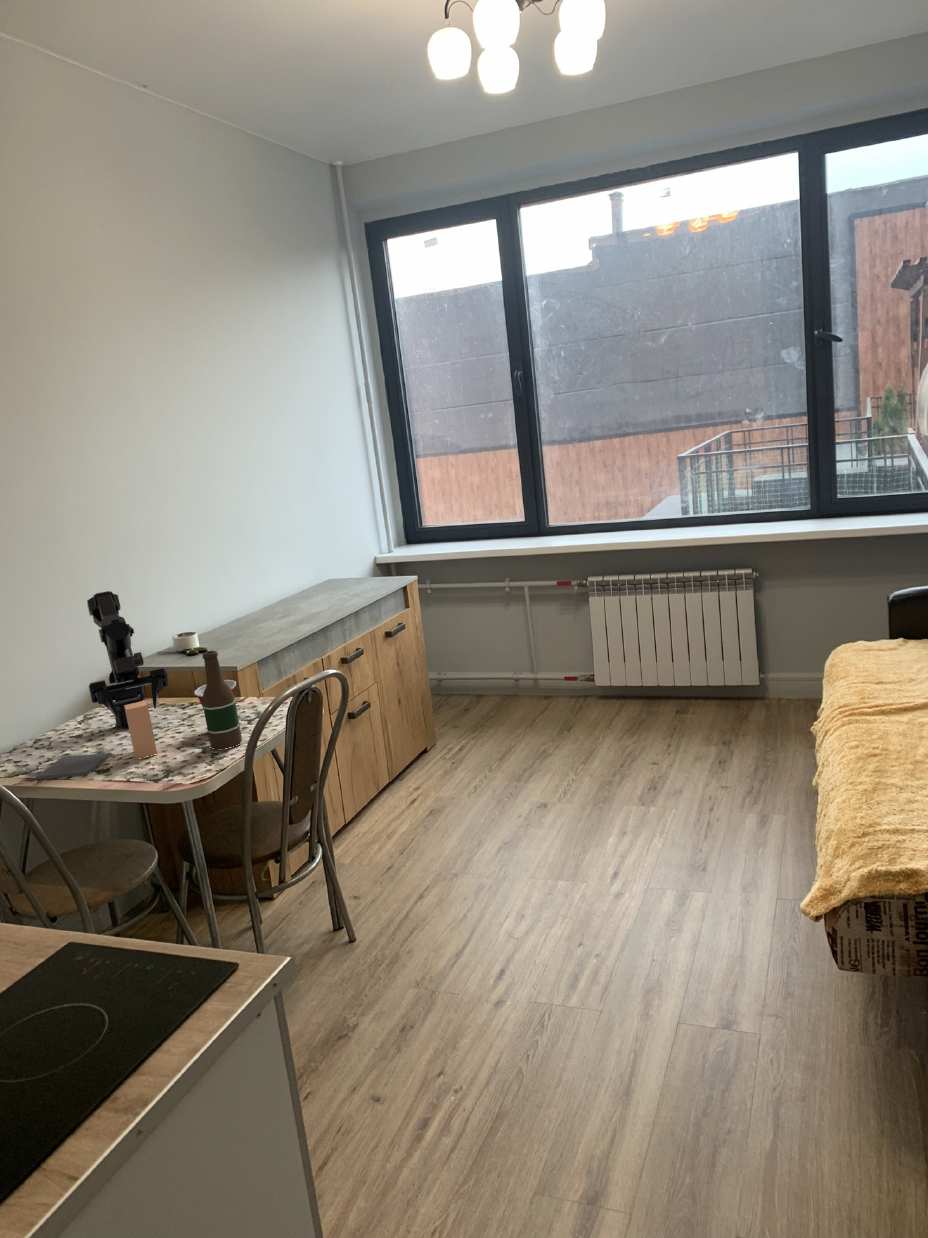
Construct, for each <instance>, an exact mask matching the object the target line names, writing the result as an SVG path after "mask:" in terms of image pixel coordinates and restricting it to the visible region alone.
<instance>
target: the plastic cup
mask: <svg viewBox="0 0 928 1238" xmlns="http://www.w3.org/2000/svg"><path fill="white" fill-rule="evenodd" d="M223 680H224V682H225V683H226V684H227V685H228V686H229V687H230V688H231V690H232V692H233V695H234V698H236V697H235V696H236V692H235V691H236V686H237V681H235V680H231V679H223ZM206 686H207V683H206V684H203V685H201V686H199V687H198V688H196V689H195V690H194V695H195V696H196V697H197V698H198V700H199V702H200V704H201V706H202V708H203V701H202V699H203V693H204V691H205V688H206Z"/></svg>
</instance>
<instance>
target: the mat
mask: <svg viewBox="0 0 928 1238" xmlns="http://www.w3.org/2000/svg"><path fill="white" fill-rule="evenodd" d="M111 756H112V752H104V753H92V754H91V753H90V754H84V755H72V756H61V758H59V759H57V760H56V761H55V762H53V763H52V764H51V765H49V766H47V767H46V768H45V769H44V770H43V771H41V772H39V774H36V776H34V777H35V780H37V779H39V780H49V779H57V778H58V779H59V778H69V777H81V776H88V775H89V774H91V773H92V772H93V771H94V770H96V769H97V768H98V767H99V766H101V765H102V764H103V763H104V762H105V761H106V760H108V759H109V758H111ZM37 781H38V780H37Z"/></svg>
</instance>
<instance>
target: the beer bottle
mask: <svg viewBox="0 0 928 1238" xmlns="http://www.w3.org/2000/svg"><path fill="white" fill-rule="evenodd" d="M218 656H219V654H218V651H216V650H209V651H205V652H203V654H202V657H201V658H202V659H203V661H204V662H203V663H204V670H205V678H206V684H207V686H206V688H205V691H204V693H203V699H202V701H203V707H202V710H203V714H204V719H205V723H206V729H207V734H208V740H209V744H210V747H211V749H212V748H214V749H225V748H229V747H233V746H236V745H238V744H240V745H241V743H242V741H243V739H242V730H241V725H240V721H239V720H240V719H239V715H238V709H237V703H236V699H235V698H236V697H235V698H234V695H233V692H232V690H231V688H230V687H229V686H228V685H227V684H226V683H225V682H224V680H225V679H224V678H223V674H222V670H221V667H220V663H219V659H218ZM240 742H241V743H240ZM236 747H237V746H236ZM214 749H213V750H214Z"/></svg>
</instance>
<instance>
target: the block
mask: <svg viewBox="0 0 928 1238" xmlns="http://www.w3.org/2000/svg"><path fill="white" fill-rule="evenodd" d="M147 703H148V702H147V701H146V700H143V701H140V702H137V703H132V704H128V705H124V707H125V712H126V717H127V722H128V726H129V728H128V730H129V731H128V732H129V735H130V739H131V745H132V750H133V754H134V757H135V759H136V760H137V759H139V758H143V759H145V758H144V757H146V756H151V755H154V754H158V749H157V746H156V745H157V744H156V741H155V740H156V739H155V735H154V730H153V725H152V721H151V716H150V711H149V706H148V704H147ZM151 757H152V756H151ZM139 760H140V759H139Z"/></svg>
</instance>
